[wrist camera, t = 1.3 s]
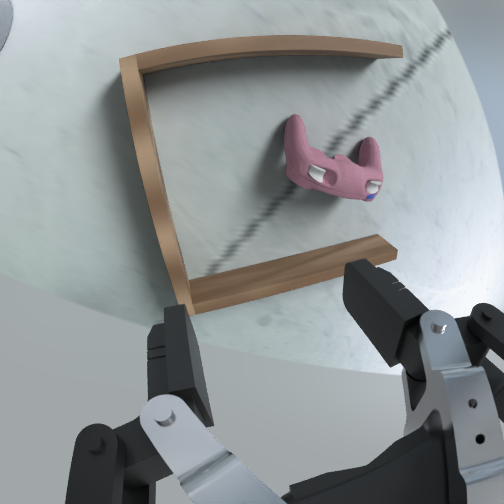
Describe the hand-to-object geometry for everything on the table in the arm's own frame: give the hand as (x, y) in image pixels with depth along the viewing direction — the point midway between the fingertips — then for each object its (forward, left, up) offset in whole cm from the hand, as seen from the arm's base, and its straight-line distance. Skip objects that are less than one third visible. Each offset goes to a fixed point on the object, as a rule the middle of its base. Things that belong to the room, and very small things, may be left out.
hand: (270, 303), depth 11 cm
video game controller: (0, +11, -18) cm, 21 cm away
